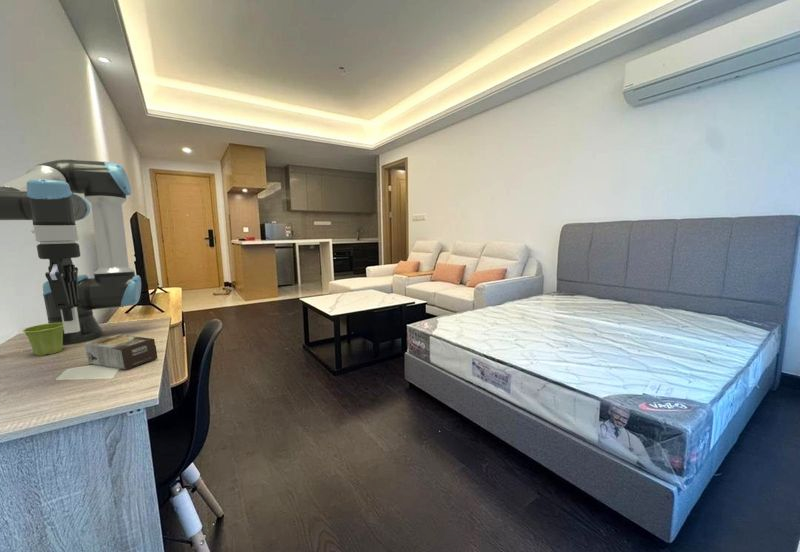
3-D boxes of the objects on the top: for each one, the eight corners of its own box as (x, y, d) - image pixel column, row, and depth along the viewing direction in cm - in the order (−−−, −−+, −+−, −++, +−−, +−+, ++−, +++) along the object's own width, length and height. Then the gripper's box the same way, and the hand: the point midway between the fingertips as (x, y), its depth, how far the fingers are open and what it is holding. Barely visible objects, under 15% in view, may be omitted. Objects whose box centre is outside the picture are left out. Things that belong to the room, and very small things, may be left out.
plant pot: (77, 347, 110) (73, 322, 109) (47, 358, 101) (42, 331, 100) (50, 347, 111) (46, 322, 109) (18, 358, 101) (13, 331, 100)
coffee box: (118, 333, 103) (156, 337, 98) (121, 352, 104) (158, 357, 99) (83, 343, 94) (122, 348, 89) (87, 364, 95) (126, 370, 90)
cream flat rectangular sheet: (67, 370, 92) (66, 368, 92) (125, 360, 98) (125, 359, 98) (37, 398, 77) (36, 396, 76) (109, 385, 83) (109, 383, 83)
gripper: (48, 242, 87) (62, 327, 90) (24, 244, 76) (41, 341, 79) (86, 241, 90) (98, 323, 94) (68, 243, 79) (82, 336, 83)
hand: (72, 331), depth 86 cm, fingers closed
